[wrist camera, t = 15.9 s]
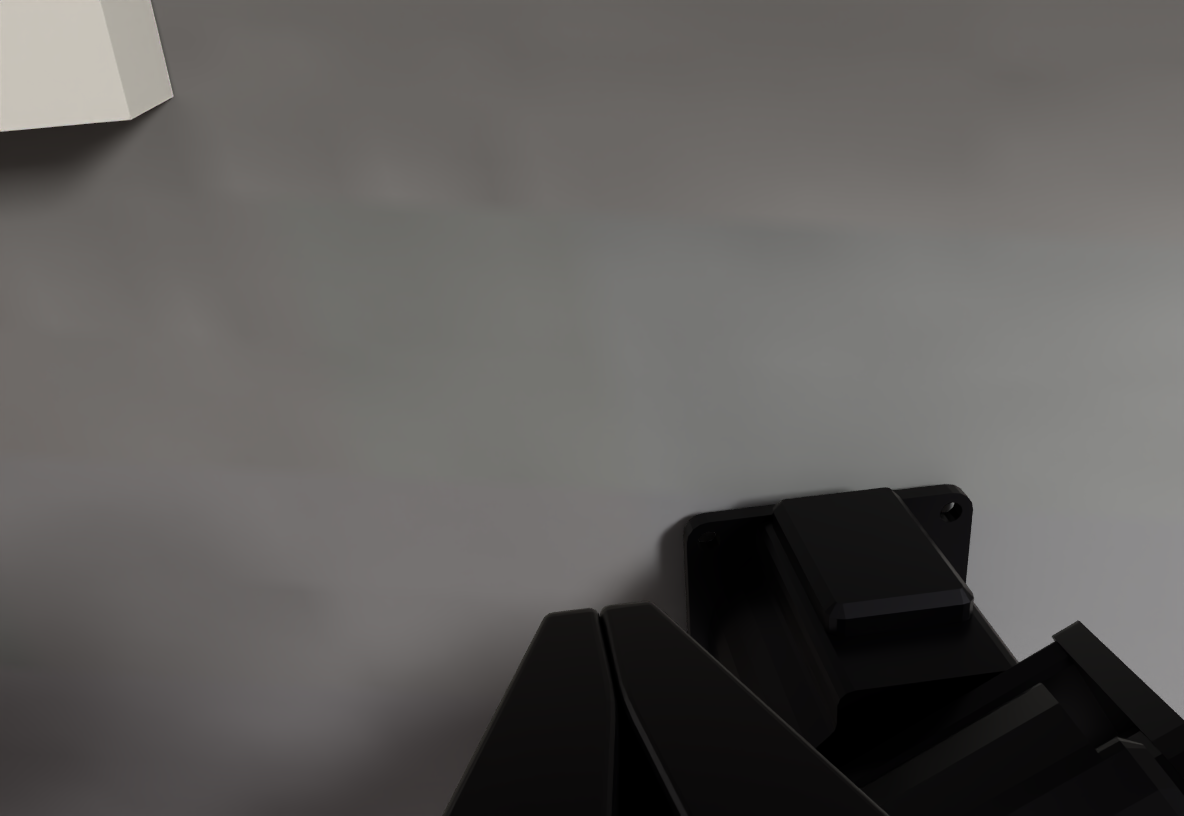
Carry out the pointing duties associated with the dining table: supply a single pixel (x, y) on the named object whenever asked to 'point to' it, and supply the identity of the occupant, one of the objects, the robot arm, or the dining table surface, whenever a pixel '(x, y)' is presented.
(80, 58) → the socket plate
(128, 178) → the dining table surface
